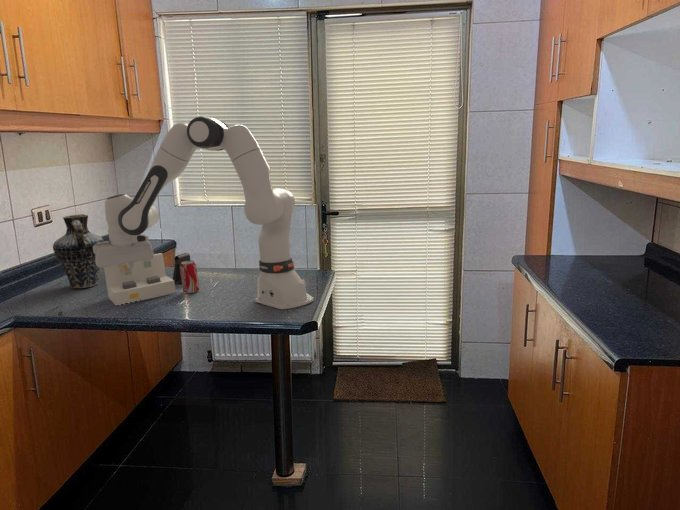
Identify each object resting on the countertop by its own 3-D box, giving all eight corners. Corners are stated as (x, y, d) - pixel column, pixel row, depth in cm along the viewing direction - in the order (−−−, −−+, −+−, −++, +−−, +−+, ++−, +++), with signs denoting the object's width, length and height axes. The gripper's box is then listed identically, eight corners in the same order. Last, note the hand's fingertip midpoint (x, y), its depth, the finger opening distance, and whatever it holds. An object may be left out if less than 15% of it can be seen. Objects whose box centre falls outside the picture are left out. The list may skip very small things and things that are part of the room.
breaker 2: (161, 287, 199) (159, 277, 198) (150, 289, 197) (149, 279, 196) (158, 285, 202) (156, 275, 201) (147, 287, 200) (146, 277, 199)
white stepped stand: (176, 292, 200) (171, 258, 196) (116, 306, 187) (110, 269, 184) (165, 286, 209) (161, 252, 206) (108, 298, 197) (103, 263, 194)
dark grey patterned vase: (55, 286, 218) (42, 216, 211) (103, 276, 230) (92, 210, 223) (67, 296, 203) (53, 221, 195) (118, 285, 215) (106, 214, 207)
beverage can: (197, 294, 197) (193, 263, 194) (180, 294, 197) (176, 264, 194) (201, 289, 203) (198, 259, 200) (186, 289, 203) (182, 260, 200)
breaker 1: (137, 292, 194) (135, 282, 193) (126, 295, 191) (124, 285, 191) (134, 290, 197) (133, 280, 196) (123, 292, 195) (122, 282, 194)
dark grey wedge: (172, 283, 213) (168, 255, 210) (182, 279, 218) (178, 252, 215) (188, 285, 209) (185, 256, 206) (198, 281, 214) (195, 253, 211)
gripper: (93, 244, 181) (99, 281, 184) (152, 235, 192) (157, 271, 195) (90, 241, 186) (96, 278, 189) (147, 233, 197) (152, 267, 200)
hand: (127, 274), depth 192 cm, fingers closed
